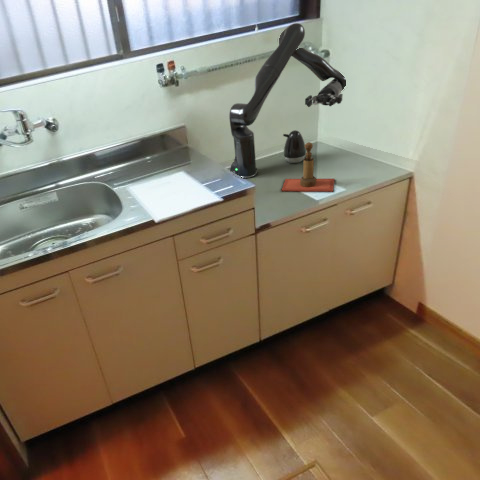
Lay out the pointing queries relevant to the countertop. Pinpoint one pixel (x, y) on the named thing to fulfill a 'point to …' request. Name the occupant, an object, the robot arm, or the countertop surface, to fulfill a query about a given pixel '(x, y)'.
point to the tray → (320, 186)
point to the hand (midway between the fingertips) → (319, 104)
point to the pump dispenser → (294, 147)
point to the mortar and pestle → (308, 168)
